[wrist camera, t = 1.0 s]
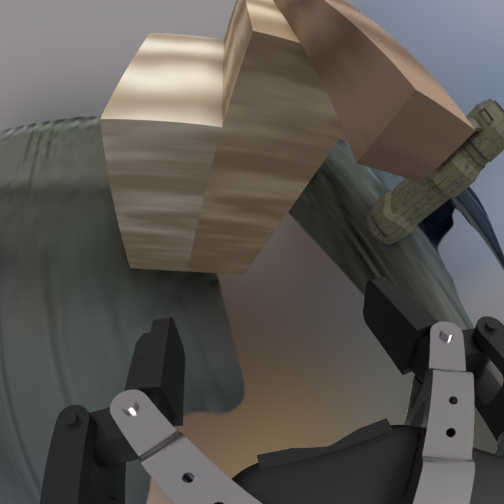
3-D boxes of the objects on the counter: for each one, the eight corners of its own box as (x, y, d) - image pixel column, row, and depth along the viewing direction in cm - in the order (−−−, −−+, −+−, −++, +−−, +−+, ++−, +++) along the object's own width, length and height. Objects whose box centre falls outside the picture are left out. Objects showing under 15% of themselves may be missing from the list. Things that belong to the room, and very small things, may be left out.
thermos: (352, 211, 53) (474, 79, 22) (388, 205, 57) (495, 99, 27) (372, 251, 50) (516, 130, 20) (406, 240, 54) (527, 141, 24)
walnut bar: (267, -8, 18) (277, -31, 15) (297, 1, 19) (307, -22, 16) (356, 163, 8) (415, 89, 5) (421, 183, 8) (475, 130, 6)
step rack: (144, 176, 43) (159, -23, 15) (238, 184, 47) (317, 6, 20) (130, 268, 36) (96, 20, 8) (243, 274, 41) (383, 76, 13)
